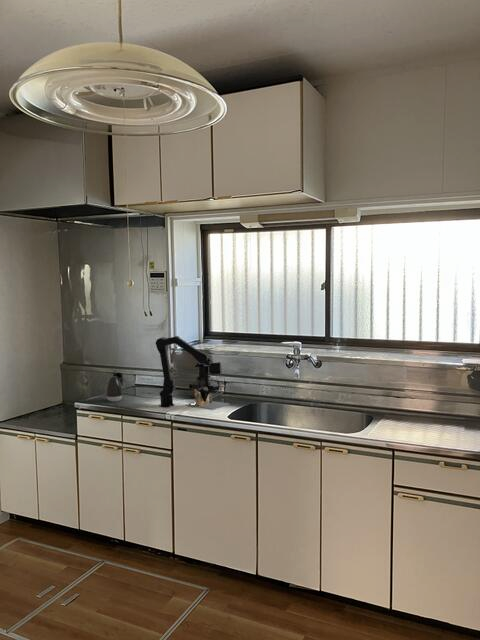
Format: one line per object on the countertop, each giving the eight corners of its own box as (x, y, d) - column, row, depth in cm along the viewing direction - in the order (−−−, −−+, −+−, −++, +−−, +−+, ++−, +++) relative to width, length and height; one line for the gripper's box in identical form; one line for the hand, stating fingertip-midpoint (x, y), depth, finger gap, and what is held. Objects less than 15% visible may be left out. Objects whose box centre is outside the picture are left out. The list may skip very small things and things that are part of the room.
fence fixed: (196, 401, 329) (196, 392, 328) (198, 400, 330) (198, 391, 330) (210, 403, 323) (210, 394, 323) (212, 402, 325) (212, 393, 324)
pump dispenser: (121, 402, 329) (120, 377, 328) (103, 402, 329) (103, 377, 328) (125, 399, 339) (124, 374, 338) (108, 399, 339) (107, 374, 338)
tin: (194, 399, 336) (194, 385, 336) (190, 398, 338) (190, 385, 338) (210, 395, 348) (210, 382, 348) (206, 394, 350) (206, 381, 350)
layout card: (185, 405, 319) (185, 404, 319) (202, 400, 333) (202, 399, 333) (213, 409, 308) (213, 408, 308) (229, 404, 322) (229, 403, 322)
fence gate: (207, 401, 324) (207, 393, 324) (210, 402, 323) (209, 394, 323) (195, 405, 315) (195, 397, 314) (197, 405, 314) (197, 397, 313)
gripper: (181, 375, 315) (183, 402, 316) (206, 378, 303) (207, 406, 304) (195, 372, 324) (196, 398, 325) (219, 374, 312) (220, 402, 313)
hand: (204, 401), depth 316 cm, fingers closed
